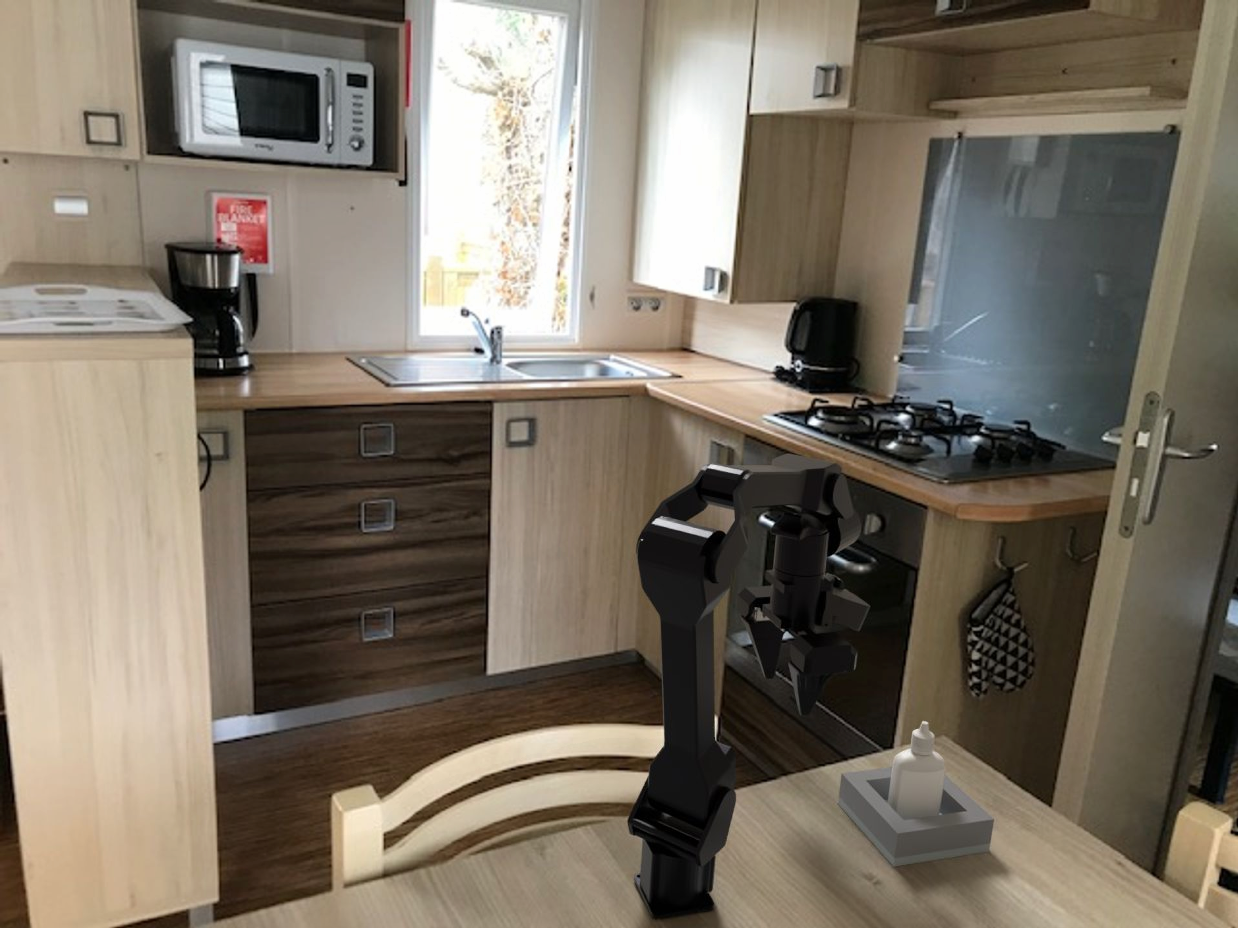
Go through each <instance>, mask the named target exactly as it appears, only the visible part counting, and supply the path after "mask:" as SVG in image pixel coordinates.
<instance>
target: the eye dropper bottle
mask: <svg viewBox="0 0 1238 928" xmlns="http://www.w3.org/2000/svg"><path fill="white" fill-rule="evenodd" d="M935 739H936V736H935V733H933V732H932V731H930V726H929V722H927V721H926V720H922V721H921V723H920V726H919V728H917V729H914V730H912V733H911V740H910V748H907V749H904V750H903V751H901V752H900V751H899V752H898V753H897V754H896V755H895V756H894V758H893V762H892V766H891V767H892V774H891V782H890V789H889V797H888V804H889V805H890V806H891V807H892V808H893V810H894V811H895V812H896V813H897V814H898V815H899V816H900V817H901V818H902V819H903V820H909V819H916V818H923V817H930V816H937V815H939V813H940V806H941V799H942V792H943V785H944V778H945V775H946V766H947V765H946V761H945V760H944V757H942V756H941V755H940V754H939V753H938V752H937V751H934V745H935Z"/></svg>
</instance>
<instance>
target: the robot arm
mask: <svg viewBox="0 0 1238 928" xmlns="http://www.w3.org/2000/svg"><path fill="white" fill-rule="evenodd" d="M771 460H772V461H771V464H770V465H769V464H768V465H766V464H765V465H763V464H761V465H760V464H757V465H756V464H755V465H753V464H752V465H750V464H747V465H740V464H736V465H729V464H728V465H727V464H722V463H718V462H713V463H711V464H709V463H708V464H705V465H703V466H702V468H701V469H700V470H699V471H698V473H697V475H696V476H695V478H694V479H693V481H692V482H691V483H689V484H687V485H686V486H684V487H683V488H681V489H679V490H678V491H676V492H674V493H673V494H671V495H669V496H668V497H667V498H665V499H663V500H662V501H661V502H660V503H659V505H658V507H657V508H656V509H655V511H654V513H653V514H652V516H651V517H650V519H649V520H648V521H647V523H646V524H645V525H644V527H643V529H642V530H641V532H640V534H639V536H638V538H637V542H636V550H635V551H636V552H635V553H636V554H635V555H636V560H637V567H638V573H639V578H640V579H639V580H640V585H641V589H642V591H643V592H644V593H645V595H646V597H647V598H648V600H649V601H650V602H651V604H652V606H653V608H654V609H655V611H656V612H657V613H658V616H659V628H660V629H659V630H660V635H659V636H660V655H661V657H660V660H661V662H660V663H661V686H662V689H661V691H662V715H663V718H662V719H663V720H662V721H663V746H662V747H661V748H660V750H659V751H658V752H657V753H656V755H655V756H654V758H653V759H652V761H651V762H650V763H649V765H648V776H647V777H646V780H645V781H644V784H643V786H642V788H641V790H640V792H639V794H638V796H637V799H636V800H635V802H634V805H633V807H632V810H630V813H629V815H628V817H627V821H626V822H627V827H628V831H629V833H628V834H630V835H631V836H634V837H635V836H636V837H638V838H640V839H642V843H641V844H642V845H641V859H640V872H636V873H634V875H633V880H634V882H635V885H636V886H637V889H638V891H639V893H640V895H641V897H642V899H643V901H644V903H645V906H646V907H647V910H648V912H649V914H650V915H651V917H652V918H653V919H655V920H656V919H657V920H658V919H664V918H665V919H666V918H671V917H677V916H678V917H679V916H682V915H684V916H685V915H688V914H695V913H702V912H707V911H712V910H715V907H716V906H715V901H714V899H713V897H712V896H711V895H710V893H711V892H713V890H714V882H715V881H714V880H715V870H716V855H717V854H718V853H719V852H720V851H721V850H722V849H724V847H725V846H726V844H727V841H728V837H729V836H728V835H729V832H730V828H731V823H732V820H733V815H734V811H735V808H736V803H737V792H736V791H735V784H736V783H737V776H736V759H737V758H736V753H735V751H734V748H733V747H732V746H730V745H726V744H724V743H722V742H719V741H717V739H716V716H715V715H716V714H715V711H716V708H715V707H716V706H715V700H716V699H715V638H714V636H715V632H714V631H715V626H714V625H715V624H714V623H715V620H714V616H715V615H714V612H715V609H716V607H717V606H718V605H719V603H720V602H721V600H723V598H724V596H725V595H726V594H727V592H728V591H729V590H730V588H731V587H732V586H731V585H732V575H733V573H734V571H735V570H736V568H737V566H738V564H739V563H740V561H741V560H742V558H743V556H744V555H745V553H746V551H747V549H748V547H749V533H748V522H747V518H748V516H749V515H750V513H751V511H752V509H760V508H772V507H773V508H774V507H789V508H794V509H797V510H801V511H800V512H796V513H790V512H786V511H785V512H783V514H782V515H781V517H780V518H779V519H778V520H777V521H775V522H774V523H773V524H772V526H771V528H770V530H769V531H770V534H771V535H775V544H774V545H775V546H774V555H773V564H772V565H773V567H772V569H768V570H765V576H764V579H765V580H767V582H769V583H770V584H771V585H760V586H746V587H744V588H743V589H742V590H741V591H740V592H739V593H738V594H737V599H736V610H737V611H738V612H739V613H740V614H741V615H740V619H741V621H742V622H743V624H744V626H745V629H746V631H747V634H748V637H749V639H750V641H751V644H752V647H753V650H754V652H755V655H756V658H757V660H758V662H759V665H760V668H761V671H762V674H763V677H764V679H766V680H771V679H774V678H775V675H776V672H777V668H778V664H779V658H780V653H781V648H782V644H783V640H784V636H785V634H786V633H788V634H789V635H791V636H792V637H793V638H794V640H792V642H790V647H789V655H790V658H791V660H789V661H788V663H787V664H788V668H789V673H790V677H791V682H792V686H793V691H794V696H795V700H796V705H797V708H798V713H799V715H800V716H802V717H803V716H806V717H807V716H809V715H811V713H812V711H813V709H814V707H815V706H816V704H817V702H818V699H819V697H821V694H822V692H823V690H824V688H825V686H826V685H827V683H828V681H830V679H831V678H832V677H833V676H834V675H839V674H844V673H846V672H852V671H855V669H856V667H857V659H858V651H857V650H856V648H855V647H853V646H852V644H850V643H849V642H848V640H846V639H844V638H843V637H842V636H841V635H840V634H838V632H836V631H833V632H832V631H831V632H818V631H817V630H816V629H817V627H821V628H822V629H823V628H832V626H833V623H836V624H840V625H843V626H846V627H849V628H851V630H853V631H856V632H860V630H861V628H862V625H864V621H865V619H866V617H867V615H868V613H869V610H870V608H871V606H870V604H868V603H867V602H866V601H864V600H863V599H861V598H860V597H859V596H858V595H856V594H855V593H853V592H850V591H849V590H848V589H846V588H844V580H842V579H841V578H839V577H838V576H837V575H834V574H831V573H828V572H826V567H827V566H826V565H827V558H831V557H832V556H834V555H836V554H837V553H839V552H840V551H843V550H844V549H846V548H847V547H849V546H850V545H853V544H854V543H855V542H856V541H857V540H858V538H860V536H861V532H862V526H863V525H862V522H861V518H860V516H859V513H858V511H856V509H855V508H854V506H853V503H852V498H851V495H850V489H849V485H848V481H847V477H846V475H845V474H841V473H842V471H843V468H842V466H841V465H840V463H838V462H833V461H828V460H824V459H817V458H813V457H808V456H804V455H797V454H793V453H785V454H782V455H779V456H777V457H774V458H773V459H771ZM709 505H710V506H714V507H719V508H722V509H727V510H730V511H731V510H732V511H733V513H734V521H733V522H732V524H731V525H730V528H729V529H728V531H727V532H725V531H724V530H721V529H720V530H719V529H716V528H714V527H713V528H712V527H708V526H705V525H702V524H696V523H692V522H688V521H690V520H691V519H692V518H694V517H695V516H698V515H699V514H701V513H702V512H704V511H705V510H706V509H707V507H708V506H709Z"/></svg>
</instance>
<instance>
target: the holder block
mask: <svg viewBox="0 0 1238 928" xmlns="http://www.w3.org/2000/svg"><path fill="white" fill-rule="evenodd" d="M892 767H893V766H890V767H889V766H887V767H881V768H873V769H866V770H865V769H864V770H857V771H850V772H842V773H841V775H840V782H839V783H840V784H839V791H838V792H839V793H838V802H837V804H838V805H839V807H840V808H841V809H842V810H843V811H844V812H845V814H846V815H847V816H848V817H849V818H850V819H851V820H852V821H853V823H854V824H855V825H856V826H857V827H858V828H859V829H860V831H861V832H862V833H863V834H864V836H866V837H867V839H868V840H869V841H870V842H871V843H872V844H873V845H874V847H875V848H876V849H877V850H878V852H880V853H881V855H883V857H884V858H885V859H886V860H887V862H889V863H890V865H891V866H892V867H898V866H905V865H912V864H919V863H924V862H930V861H938V860H943V859H944V860H945V859H951V858H956V857H962V856H969V855H974V854H981V853H988V852H990V849H991V841H992V835H993V830H994V825H995V824H994V822H995V818H993V817H992V815H991V814H989V813H988V812H987V811H986V810H985V809H984V808H983V807H981V805H979V803H977V802H976V801H975V800H974V799H973V798H971V797H970V795H969V794H967V793H966V792H965V791H964V790H963V789H961V787H960V786H958V785H957V784H956V783H955V781H954V782H953V780H951V778H949V777H948V776H947V775H946V774H945V778H944V785H943V792H942V799H941V806H940V813H939V815H937V816H930V817H923V818H916V819H909V820H903V819H902V818H901V817H900V816H899V815H898V814H897V813H896V812H895V811H894V810H893V808H892V807H891V806H890V805H889V804H888V797H889V789H890V782H891V774H892Z"/></svg>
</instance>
